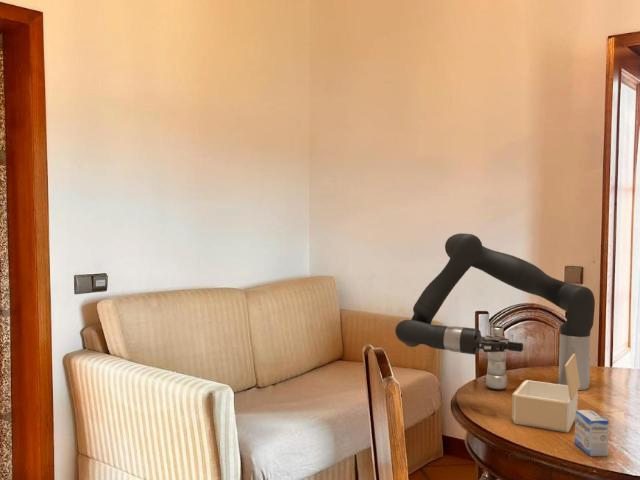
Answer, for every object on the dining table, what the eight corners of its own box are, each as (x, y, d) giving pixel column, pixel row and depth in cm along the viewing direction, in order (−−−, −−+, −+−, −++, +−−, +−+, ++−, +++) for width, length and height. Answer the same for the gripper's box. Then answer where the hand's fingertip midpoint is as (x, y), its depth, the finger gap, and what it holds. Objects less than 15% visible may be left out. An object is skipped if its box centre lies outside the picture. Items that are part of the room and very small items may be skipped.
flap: (573, 353, 178) (575, 353, 177) (578, 385, 177) (580, 385, 177) (564, 365, 165) (566, 365, 164) (570, 400, 164) (572, 400, 164)
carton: (524, 405, 186) (525, 379, 186) (577, 414, 179) (578, 386, 178) (510, 423, 171) (511, 394, 171) (567, 433, 164) (568, 403, 164)
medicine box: (574, 444, 157) (574, 409, 157) (591, 443, 157) (592, 409, 157) (590, 456, 149) (591, 420, 149) (608, 456, 150) (609, 420, 149)
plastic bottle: (508, 392, 200) (509, 329, 198) (485, 390, 201) (487, 328, 200) (506, 386, 206) (507, 325, 205) (484, 385, 207) (485, 324, 206)
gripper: (455, 331, 180) (517, 338, 171) (469, 323, 191) (528, 330, 182) (454, 357, 180) (516, 365, 171) (468, 348, 192) (527, 356, 183)
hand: (522, 347), depth 177 cm, fingers closed
